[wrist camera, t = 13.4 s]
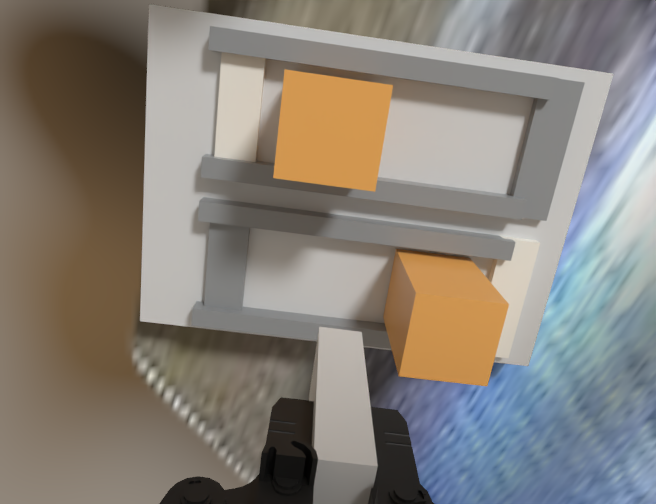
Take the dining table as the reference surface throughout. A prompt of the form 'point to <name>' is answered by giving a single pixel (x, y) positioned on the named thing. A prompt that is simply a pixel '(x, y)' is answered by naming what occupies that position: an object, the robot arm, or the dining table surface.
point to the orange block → (331, 130)
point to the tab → (442, 318)
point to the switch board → (345, 203)
